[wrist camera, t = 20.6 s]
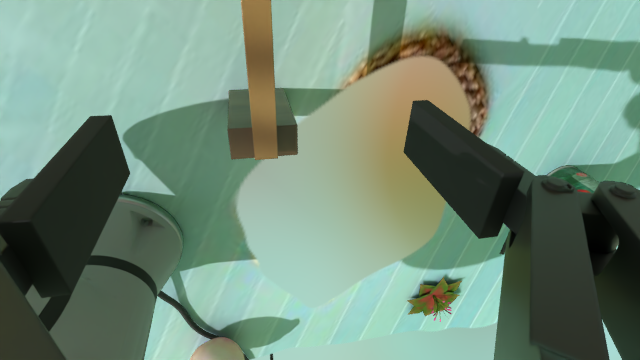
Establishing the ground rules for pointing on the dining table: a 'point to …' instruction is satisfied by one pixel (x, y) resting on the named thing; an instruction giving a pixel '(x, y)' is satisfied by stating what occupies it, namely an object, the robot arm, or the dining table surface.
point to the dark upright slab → (242, 125)
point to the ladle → (260, 76)
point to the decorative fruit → (218, 350)
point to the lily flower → (434, 298)
